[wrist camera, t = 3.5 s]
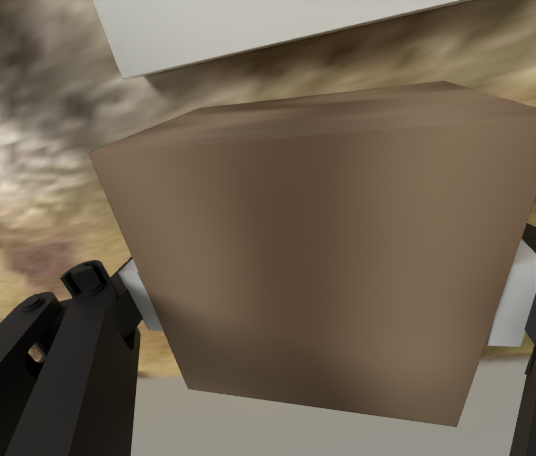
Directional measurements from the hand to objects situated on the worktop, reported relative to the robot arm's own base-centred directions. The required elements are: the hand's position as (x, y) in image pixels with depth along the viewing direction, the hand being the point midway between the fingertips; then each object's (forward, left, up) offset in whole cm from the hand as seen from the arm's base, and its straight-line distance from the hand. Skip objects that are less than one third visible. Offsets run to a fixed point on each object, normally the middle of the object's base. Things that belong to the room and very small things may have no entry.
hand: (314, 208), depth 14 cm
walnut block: (0, 0, 0) cm, 0 cm away
